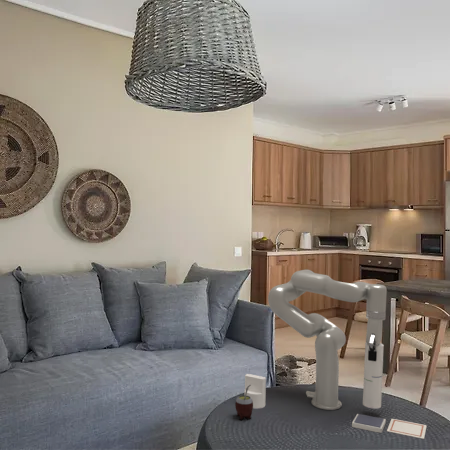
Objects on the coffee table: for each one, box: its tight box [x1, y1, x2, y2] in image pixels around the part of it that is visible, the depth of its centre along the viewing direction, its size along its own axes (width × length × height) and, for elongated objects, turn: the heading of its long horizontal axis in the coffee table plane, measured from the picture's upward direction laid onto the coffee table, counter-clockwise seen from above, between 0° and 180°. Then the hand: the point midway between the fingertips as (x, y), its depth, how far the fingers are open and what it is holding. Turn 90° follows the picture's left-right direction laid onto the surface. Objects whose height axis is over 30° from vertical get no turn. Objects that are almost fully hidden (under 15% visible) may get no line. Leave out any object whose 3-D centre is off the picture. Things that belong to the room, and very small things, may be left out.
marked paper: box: [386, 418, 427, 440], centre depth 186 cm, size 13×13×1 cm
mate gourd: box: [234, 385, 254, 421], centre depth 193 cm, size 8×8×15 cm
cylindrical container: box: [362, 341, 385, 410], centre depth 198 cm, size 7×7×25 cm
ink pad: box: [351, 413, 387, 434], centre depth 189 cm, size 11×10×2 cm
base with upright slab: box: [244, 373, 267, 410], centre depth 208 cm, size 9×9×12 cm
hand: (373, 357), depth 198 cm, fingers closed on cylindrical container, 7 cm apart
